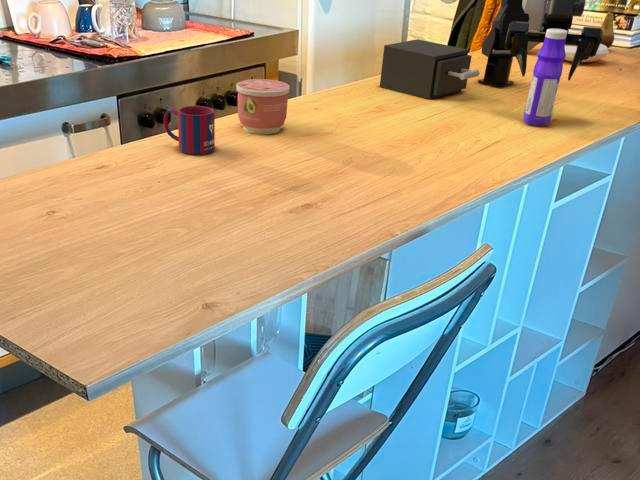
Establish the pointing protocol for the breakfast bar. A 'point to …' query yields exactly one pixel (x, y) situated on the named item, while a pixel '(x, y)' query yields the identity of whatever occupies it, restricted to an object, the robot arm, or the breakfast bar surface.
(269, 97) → the container
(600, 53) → the vase
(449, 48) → the dark drawer cabinet casing
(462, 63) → the pull-out drawer box
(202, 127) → the mug
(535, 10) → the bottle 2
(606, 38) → the fruit
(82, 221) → the breakfast bar surface
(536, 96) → the bottle
